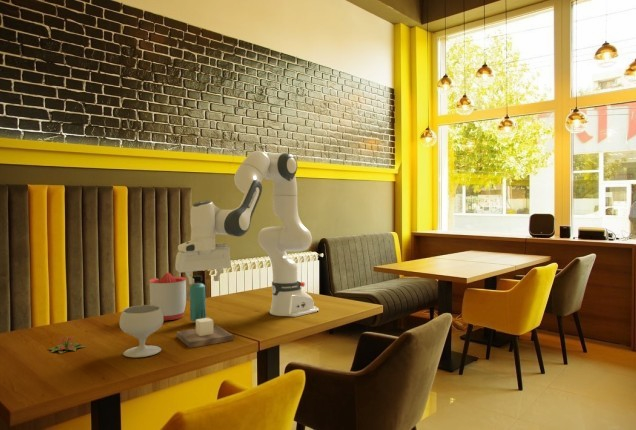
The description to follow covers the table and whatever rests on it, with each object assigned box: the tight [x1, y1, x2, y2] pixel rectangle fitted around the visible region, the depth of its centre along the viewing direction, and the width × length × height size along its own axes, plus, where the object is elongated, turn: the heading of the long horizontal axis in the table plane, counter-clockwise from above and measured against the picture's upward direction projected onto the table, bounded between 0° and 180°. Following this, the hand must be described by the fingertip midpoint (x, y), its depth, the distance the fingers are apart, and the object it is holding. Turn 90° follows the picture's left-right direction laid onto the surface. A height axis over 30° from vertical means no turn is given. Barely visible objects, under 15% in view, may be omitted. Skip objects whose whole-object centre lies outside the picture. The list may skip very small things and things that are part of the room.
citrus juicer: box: [148, 272, 187, 322], centre depth 211 cm, size 16×17×20 cm
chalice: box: [119, 304, 164, 358], centre depth 163 cm, size 14×14×15 cm
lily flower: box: [49, 336, 86, 354], centre depth 169 cm, size 12×12×5 cm
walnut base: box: [176, 325, 234, 349], centre depth 179 cm, size 16×16×2 cm
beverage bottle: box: [189, 274, 207, 323], centre depth 201 cm, size 6×7×20 cm
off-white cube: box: [195, 317, 214, 336], centre depth 179 cm, size 5×5×5 cm
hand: (204, 282), depth 179 cm, fingers open, 8 cm apart
